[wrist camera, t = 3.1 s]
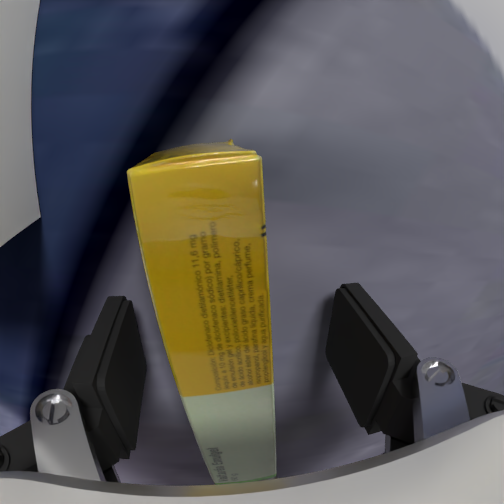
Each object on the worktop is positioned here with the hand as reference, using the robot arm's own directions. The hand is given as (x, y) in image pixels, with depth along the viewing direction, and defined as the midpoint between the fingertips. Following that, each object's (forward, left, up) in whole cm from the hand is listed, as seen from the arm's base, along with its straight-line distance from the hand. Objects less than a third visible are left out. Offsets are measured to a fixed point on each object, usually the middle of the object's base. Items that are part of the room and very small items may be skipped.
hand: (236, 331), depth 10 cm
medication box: (+1, 0, -1) cm, 2 cm away
